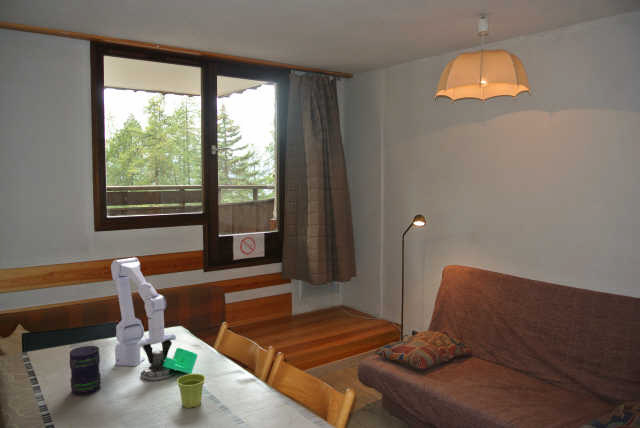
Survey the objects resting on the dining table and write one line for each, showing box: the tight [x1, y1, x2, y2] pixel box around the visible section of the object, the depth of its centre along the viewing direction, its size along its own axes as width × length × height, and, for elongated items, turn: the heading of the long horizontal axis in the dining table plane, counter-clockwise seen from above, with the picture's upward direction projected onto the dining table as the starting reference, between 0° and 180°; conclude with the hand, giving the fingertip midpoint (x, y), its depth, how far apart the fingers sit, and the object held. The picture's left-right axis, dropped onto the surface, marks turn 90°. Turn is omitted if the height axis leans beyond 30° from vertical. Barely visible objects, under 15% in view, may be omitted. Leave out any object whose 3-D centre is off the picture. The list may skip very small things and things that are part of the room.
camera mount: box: [163, 347, 198, 374], centre depth 188 cm, size 12×8×10 cm
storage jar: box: [69, 345, 102, 397], centre depth 173 cm, size 10×10×15 cm
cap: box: [151, 349, 165, 367], centre depth 187 cm, size 5×5×5 cm
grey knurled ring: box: [140, 363, 176, 382], centre depth 187 cm, size 13×13×3 cm
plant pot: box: [176, 373, 206, 409], centre depth 161 cm, size 9×9×9 cm
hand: (157, 361), depth 187 cm, fingers closed on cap, 5 cm apart
